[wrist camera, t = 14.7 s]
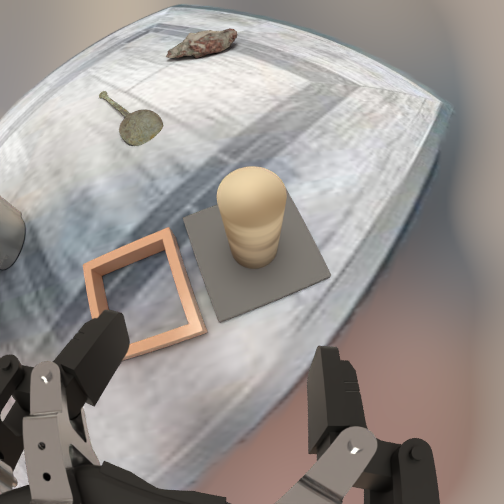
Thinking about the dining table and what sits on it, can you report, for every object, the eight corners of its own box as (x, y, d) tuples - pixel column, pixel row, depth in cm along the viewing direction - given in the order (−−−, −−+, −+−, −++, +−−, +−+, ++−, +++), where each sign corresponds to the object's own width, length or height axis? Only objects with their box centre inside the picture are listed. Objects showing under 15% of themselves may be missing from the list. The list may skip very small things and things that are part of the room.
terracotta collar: (94, 271, 28) (82, 264, 26) (175, 236, 29) (169, 227, 27) (115, 362, 24) (103, 362, 22) (207, 332, 26) (202, 330, 23)
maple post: (223, 234, 28) (207, 179, 19) (266, 218, 29) (269, 158, 19) (240, 276, 27) (231, 236, 17) (285, 257, 27) (298, 210, 18)
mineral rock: (166, 65, 44) (162, 48, 39) (173, 50, 46) (170, 35, 42) (238, 56, 44) (237, 39, 39) (238, 42, 46) (237, 26, 42)
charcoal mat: (184, 221, 30) (182, 217, 29) (281, 186, 31) (282, 182, 31) (220, 322, 26) (218, 321, 25) (329, 277, 27) (331, 275, 27)
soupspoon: (136, 158, 35) (172, 134, 37) (129, 142, 32) (168, 118, 34) (90, 106, 40) (118, 88, 42) (85, 94, 37) (114, 76, 39)
